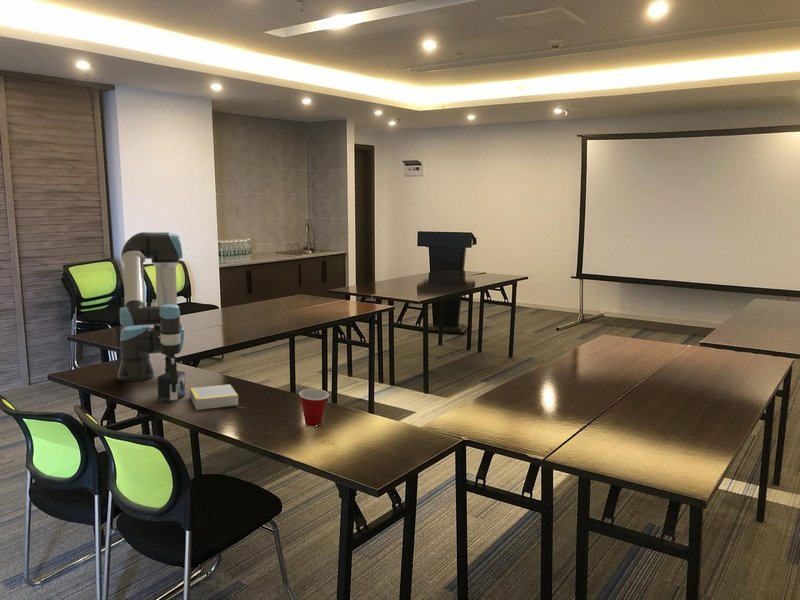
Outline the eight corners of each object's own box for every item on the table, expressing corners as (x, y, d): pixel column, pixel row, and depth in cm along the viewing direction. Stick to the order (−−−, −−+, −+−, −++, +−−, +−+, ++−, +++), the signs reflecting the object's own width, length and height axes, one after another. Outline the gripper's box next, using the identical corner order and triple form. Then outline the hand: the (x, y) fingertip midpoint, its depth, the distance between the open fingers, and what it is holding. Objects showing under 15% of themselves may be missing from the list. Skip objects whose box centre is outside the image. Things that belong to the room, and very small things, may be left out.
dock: (190, 397, 256) (190, 387, 256) (230, 393, 263) (230, 384, 263) (196, 409, 242) (196, 399, 242) (238, 405, 249) (238, 395, 249)
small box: (172, 403, 248) (171, 378, 247) (157, 402, 250) (156, 376, 248) (186, 395, 259) (185, 371, 257) (171, 394, 260) (171, 369, 258)
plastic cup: (316, 431, 224) (316, 399, 222) (292, 425, 229) (292, 393, 227) (334, 423, 233) (335, 391, 231) (311, 417, 238) (312, 386, 237)
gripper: (157, 337, 260) (158, 386, 263) (163, 351, 238) (165, 405, 241) (176, 336, 263) (177, 385, 267) (184, 349, 241) (185, 402, 245)
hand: (171, 394), depth 254 cm, fingers open, 13 cm apart
